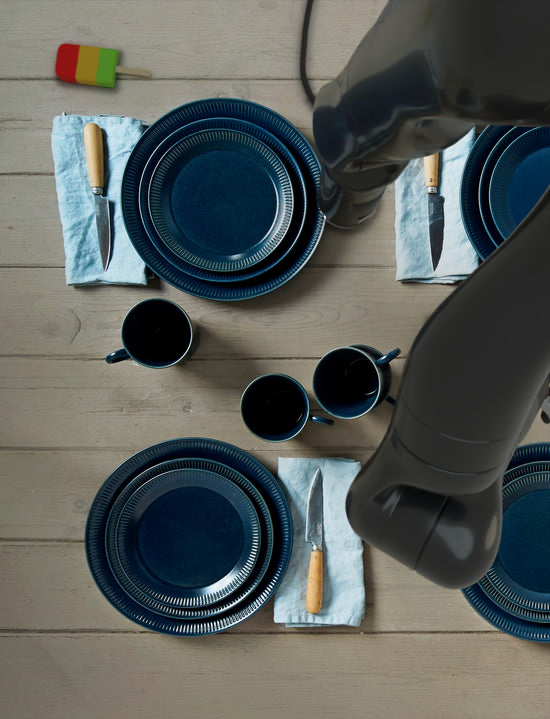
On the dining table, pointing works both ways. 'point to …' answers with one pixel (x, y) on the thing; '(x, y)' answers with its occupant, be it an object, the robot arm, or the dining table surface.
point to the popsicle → (91, 65)
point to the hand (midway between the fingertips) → (539, 324)
